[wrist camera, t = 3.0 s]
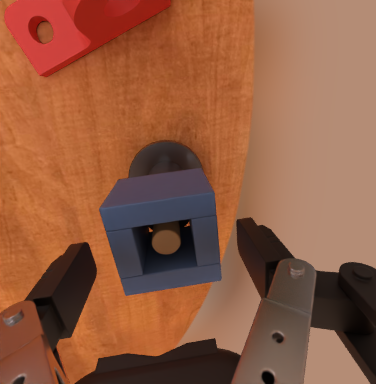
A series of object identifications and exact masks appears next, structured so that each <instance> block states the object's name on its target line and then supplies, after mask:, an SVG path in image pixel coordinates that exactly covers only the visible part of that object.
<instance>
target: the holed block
mask: <svg viewBox="0 0 376 384" xmlns="http://www.w3.org/2000/svg"><path fill="white" fill-rule="evenodd" d="M99 211H100V214H101V217H102V221H103V224H104V227H105V230H106V234H107V237H108V241H109V244H110V247H111V250H112V254H113V257H114V260H115V263H116V267H117V270H118V273H119V276H120V278H121V282H122V286H123V289H124V292H125V295H126V296H128V295H134V294H140V293H146V292H153V291H159V290H165V289H171V288H177V287H184V286H190V285H196V284H202V283H208V282H215V281H220V280H221V278H222V277H221V265H220V251H219V239H218V227H217V216H216V204H215V193H214V191H213V189H212V187H211V185H210V183H209V181H208V180H207V178H206V176H205V174H204V172H203V170H202V169H201V168H196V169H189V170H182V171H175V172H168V173H161V174H154V175H147V176H140V177H133V178H126V179H119V180H118V181H117V183H116V184H115V186H114V187H113V189H112V190H111V192H110V193H109V195H108V196H107V198H106V199H105V201H104V202H103V204H102V205H101V207H100V208H99ZM185 219H189V223H190V226H187V227H180V237H181V244H180V247H179V248H178V250H177V251H175V252H174V253H171V254H160V253H158V252H157V251H155V249H154V248H153V246H152V234H153V232H149V227H148V225H152V224H159V223H166V222H172V221H179V220H185Z"/></svg>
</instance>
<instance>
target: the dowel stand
mask: <svg viewBox="0 0 376 384" xmlns="http://www.w3.org/2000/svg"><path fill="white" fill-rule="evenodd" d="M196 168H201V169H202V170H203V168H202V165H201V163H200V161H199V159H198V157H197V156H196V154H195V153H194V152H193V151H192V150H191V149H190V148H188V147H187V146H185V145H183V144H181V143H179V142H176V141H170V140H162V141H157V142H153V143H151V144H149V145H147V146H145V147H144V148H143V149H141V150H140V151H139V152H138V154H137V155H136V156H135V158H134V160H133V161H132V163H131V166H130V169H129V178H133V177H140V176H147V175H154V174H161V173H168V172H175V171H182V170H189V169H196ZM188 222H189V219H185V220H179V221H172V222H166V223H159V224H152V225H148V227H149V228H151V229H152V230H153V234H152V246H153V248H154V249H155V251H157V252H158V253H160V254H171V253H174V252H175V251H177V250H178V248H179V247H180V244H181V237H180V227H185V226H186V225H187V224H188Z"/></svg>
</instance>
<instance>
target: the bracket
mask: <svg viewBox="0 0 376 384" xmlns="http://www.w3.org/2000/svg"><path fill="white" fill-rule="evenodd" d="M170 4H171V0H17V1H16V2H14V3H13V4H11V5H9V6H8V7H7V9H6V11H5V15H4V18H5V23H6V26H7V28H8V29H9V31H10V32H11V34H12V35H13V37H14V38H15V40H16V41H17V43H18V44H19V46H20V47H21V49H22V50H23V52H24V53H25V55H26V56H27V58H28V59H29V61H30V62H31V64H32V65H33V67H34V68H35V70H36V71H37V73H38V74H39V75H40V76H44V77H47V76H49V75H51V74H53V73H54V72H56V71H58V70H60V69H61V68H63V67H65V66H67V65H68V64H70V63H72V62H74V61H75V60H77V59H79V58H81V57H82V56H84V55H86V54H88V53H89V52H91V51H93V50H94V49H96V48H98V47H100V46H101V45H103V44H105V43H107V42H108V41H110V40H112V39H114V38H115V37H117V36H119V35H121V34H122V33H124V32H126V31H128V30H129V29H131V28H133V27H135V26H136V25H138V24H140V23H142V22H143V21H145V20H147V19H149V18H150V17H152V16H154V15H156V14H157V13H159V12H161V11H163V10H164V9H166V8H168V7H170ZM42 21H49V22H50V24H51V25H52V28H53V32H54V35H53V39H52V40H51V41H50V42H49V43H47V44H42V43H41V42H40V41H39V39H38V37H37V33H36V29H37V26H38V24H39V23H40V22H42Z"/></svg>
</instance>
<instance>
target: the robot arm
mask: <svg viewBox="0 0 376 384" xmlns="http://www.w3.org/2000/svg"><path fill="white" fill-rule="evenodd" d="M236 224H237V245H238V250H239V254H240V256H241V258H242V260H243V262H244V264H245V266H246V268H247V270H248V272H249V274H250V276H251V278H252V280H253V282H254V284H255V287H256V288H257V290H258V293H259V295H260V297H261V302H260V305H259V308H258V310H257V313H256V316H255V319H254V321H253V324H252V327H251V329H250V332H249V335H248V338H247V340H246V343H245V346H244V349H243V351H242V354H241V355H239V354H237V353H234V352H231V351H229V350H225V349H219V348H217V345H216V340H215V338H214V339H208V340H202V341H197V342H191V343H186V344H184V345H182V346H180V347H177V348H175V349H173V350H171V351H169V352H166V353H164V354H162V355H160V356H146V355H137V354H128V353H127V354H121V355H116V356H110V357H104V358H99V359H98V363H97V366H96V370H95V371H93V372H91V373H90V374H88V375H86V376H84V377H83V378H82V379H80V380H79V381H77V382H76V383H75V384H303V383H304V375H305V366H306V359H307V350H308V342H309V334H310V333H309V332H310V327H314V328H321V329H328V330H335V332H336V333H337V335H338V336H339V338H340V339H341V341H342V342H343V344H344V345H345V347H346V348H347V350H348V351H349V353H350V354H351V355H352V357H353V358H354V360H355V361H356V363H357V364H358V366H359V367H360V369H361V370H362V372H363V373H364V375H365V376H366V377H367V379H368V381H369V382H370V384H376V269H375V268H373V267H371V266H368V265H365V264H362V263H356V262H348V263H344V264H342V265H341V266H340V269H339V273H336V272H324V271H316V270H315V269H314V267H313V266H312V265H311V264H309V263H307V262H306V261H303V260H300V259H296V258H294V257H293V255H292V254H291V253H290V252H289V251H288V249H287V248H286V247H285V246H284V245H283V243H282V242H280V240H279V239H278V238H277V237H276V235H275V234H274V233H273V232H272V230H271V229H269V228H267V227H265V226H263V225H259V226H257V224H256V223H255V222H254V220H253V219H252V218H251V217H250V218H243V219H238V220H237V223H236ZM96 274H97V268H96V264H95V261H94V258H93V255H92V252H91V250H90V247H89V244H88V243H87V242H83V243H77V244H71V245H70V246H69V247H68V249H67V250H66V252H65V253H64V254H63V255H61V256H60V257H58V258H57V259H56V260H55V261H54V262H52V263H51V265H50V266H49V267H48V269H47V270H46V272H45V273H44V274H43V276H42V277H41V279H40V280H39V281H38V282H37V284H36V285H35V286H34V288H33V289H32V291H31V292H30V293H29V295H28V296H27V297H26V299H25V300H24V301H21V302H18V303H16V304H14V305H12V306H10V307H8V308H7V309H5V310H4V311H3V312H1V313H0V384H70V382H69V379H68V376H67V373H66V370H65V367H64V364H63V361H62V358H61V356H60V353H59V350H58V348H57V343H58V341H59V339H64V338H70V337H71V336H72V334H73V331H74V329H75V327H76V324H77V322H78V319H79V317H80V315H81V312H82V310H83V307H84V305H85V303H86V300H87V298H88V295H89V293H90V291H91V288H92V286H93V283H94V281H95V278H96Z"/></svg>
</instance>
